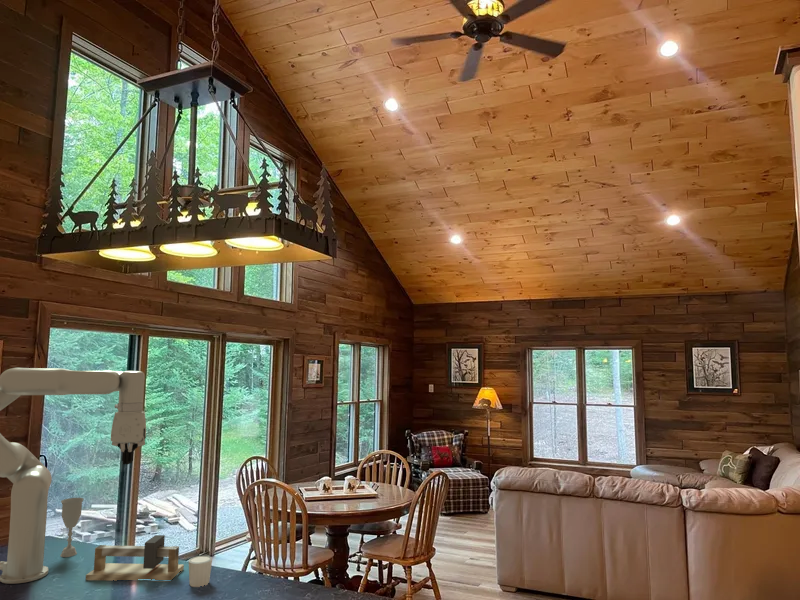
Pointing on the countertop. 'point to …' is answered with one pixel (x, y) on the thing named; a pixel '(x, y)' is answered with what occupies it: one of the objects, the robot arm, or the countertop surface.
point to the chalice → (70, 521)
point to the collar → (153, 551)
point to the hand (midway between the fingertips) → (127, 463)
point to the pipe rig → (133, 570)
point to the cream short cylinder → (199, 570)
